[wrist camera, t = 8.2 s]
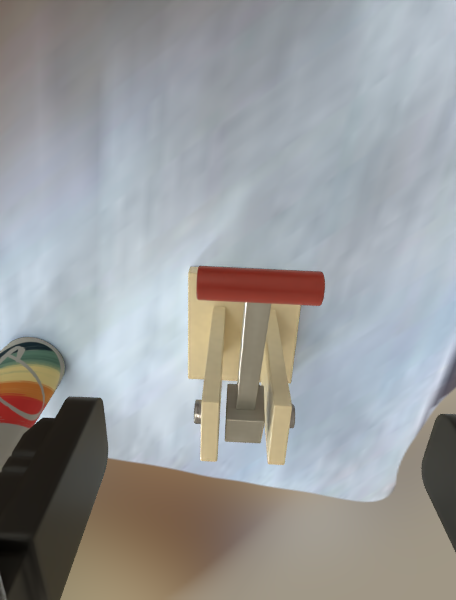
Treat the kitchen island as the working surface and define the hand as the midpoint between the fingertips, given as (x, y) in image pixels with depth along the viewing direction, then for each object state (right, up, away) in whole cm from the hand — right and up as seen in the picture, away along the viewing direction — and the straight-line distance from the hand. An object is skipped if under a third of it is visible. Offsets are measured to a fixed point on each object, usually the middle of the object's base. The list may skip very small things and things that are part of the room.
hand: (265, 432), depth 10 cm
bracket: (0, +1, +26) cm, 26 cm away
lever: (0, +1, +13) cm, 13 cm away
